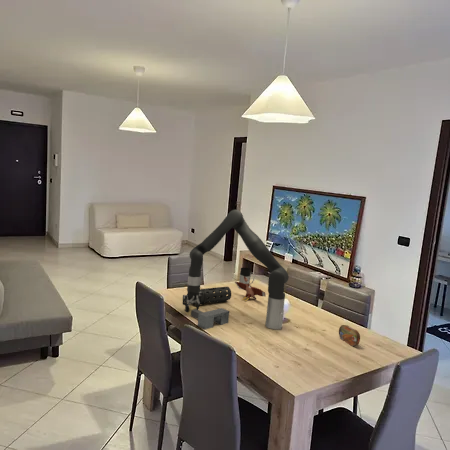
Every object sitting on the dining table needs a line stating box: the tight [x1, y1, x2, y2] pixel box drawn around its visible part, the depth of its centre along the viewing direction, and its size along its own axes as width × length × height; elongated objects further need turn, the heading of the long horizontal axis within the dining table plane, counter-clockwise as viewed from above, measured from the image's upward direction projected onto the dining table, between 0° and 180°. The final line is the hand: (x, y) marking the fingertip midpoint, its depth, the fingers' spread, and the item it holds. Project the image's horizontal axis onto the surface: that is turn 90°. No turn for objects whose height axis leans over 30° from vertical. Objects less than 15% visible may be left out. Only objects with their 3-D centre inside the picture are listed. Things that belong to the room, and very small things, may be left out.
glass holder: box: [237, 267, 256, 291], centre depth 306 cm, size 9×14×15 cm, turn 40°
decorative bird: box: [234, 277, 267, 302], centre depth 278 cm, size 28×18×15 cm, turn 42°
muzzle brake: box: [188, 286, 232, 306], centre depth 265 cm, size 10×28×10 cm, turn 123°
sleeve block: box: [197, 307, 230, 330], centre depth 228 cm, size 6×18×7 cm, turn 135°
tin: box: [338, 324, 361, 347], centre depth 219 cm, size 15×3×8 cm, turn 21°
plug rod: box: [185, 305, 204, 320], centre depth 237 cm, size 16×4×4 cm, turn 46°
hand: (191, 310), depth 241 cm, fingers open, 7 cm apart
